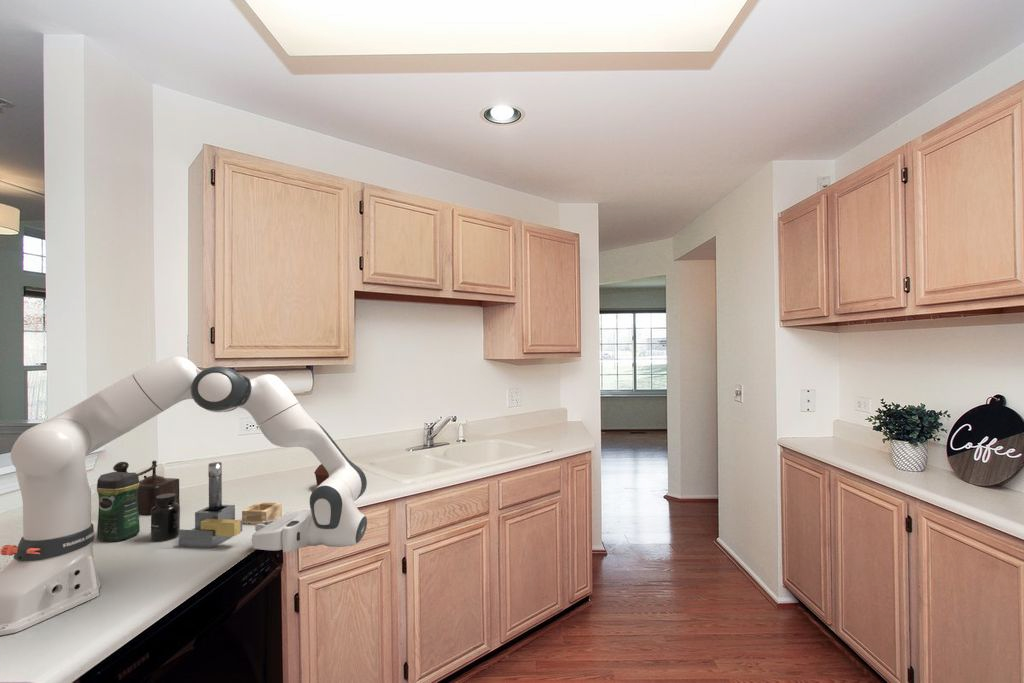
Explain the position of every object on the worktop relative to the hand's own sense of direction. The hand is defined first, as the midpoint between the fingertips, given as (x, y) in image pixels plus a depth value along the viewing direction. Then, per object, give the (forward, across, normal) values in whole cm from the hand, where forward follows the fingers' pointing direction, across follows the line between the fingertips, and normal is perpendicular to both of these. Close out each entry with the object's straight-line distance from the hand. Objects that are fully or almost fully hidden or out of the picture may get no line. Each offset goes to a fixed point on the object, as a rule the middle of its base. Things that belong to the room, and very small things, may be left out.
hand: (258, 526), depth 133 cm
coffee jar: (+45, -3, +6) cm, 46 cm away
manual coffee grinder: (+55, -22, +6) cm, 59 cm away
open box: (+12, -20, +6) cm, 24 cm away
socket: (+17, -4, +6) cm, 19 cm away
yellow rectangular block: (+11, 0, +3) cm, 11 cm away
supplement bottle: (+31, -4, +6) cm, 32 cm away
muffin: (+7, -54, +6) cm, 54 cm away
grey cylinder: (+17, -6, +3) cm, 18 cm away
